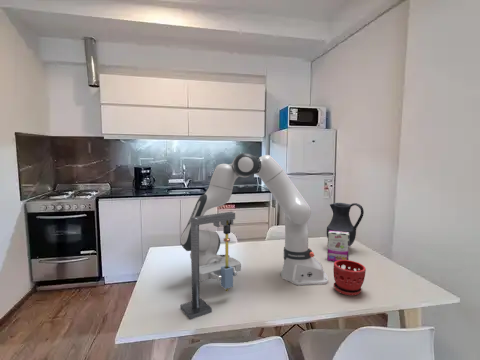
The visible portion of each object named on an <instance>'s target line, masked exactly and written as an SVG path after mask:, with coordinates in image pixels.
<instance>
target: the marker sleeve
mask: <svg viewBox="0 0 480 360" xmlns="http://www.w3.org/2000/svg"><path fill="white" fill-rule="evenodd" d="M220 287H222V288H224V289H227V288H228V289H230V288H233V287H234V276H233V268H232V267H231V266H229V265H228V268H227V269H226V268H225V266H222V267H221V280H220Z"/></svg>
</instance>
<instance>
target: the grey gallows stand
mask: <svg viewBox="0 0 480 360" xmlns="http://www.w3.org/2000/svg"><path fill="white" fill-rule="evenodd" d="M190 217H191V216H190ZM234 220H236V213H235V212H233V211H227V212H220V213H214V214H213V213H212V214H204V215H203V216H197V217H191V251H190V253H191V258H190V261H191V263H190V264H191V270H190V271H191V272H190V273H191V301H188V302H184V303H181V304H180V307H179V308H180V310H181V311H182V312H183V314H185V315H186V317H187V318H188V319H189V320H193V319H195V318H200V317H201V316H204V315H207V314H210V313H212V312H213V308H212V307H211V306H210V305H209V304H208V303H207V302H206V301H205V300H203V298H201V296H200V295H201V292H200V291H201V290H200V282H201V281H200V277H199V230H200V225H207V224H213V226H215V227H216V228H219V227H220V225H221V226H223V227H222V229H223V234H224V236H225V237H224V238H223V242H225V243H224V244H225V248H224V249H225V252H224V253H225V254H224V255H225V268H226V269H227V268H228V255H229V242H230V241H231V238H230V237H229V234H231V225H234ZM224 289H225V288H224ZM224 291H225V292H229V288H227V289H225V290H224Z"/></svg>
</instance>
